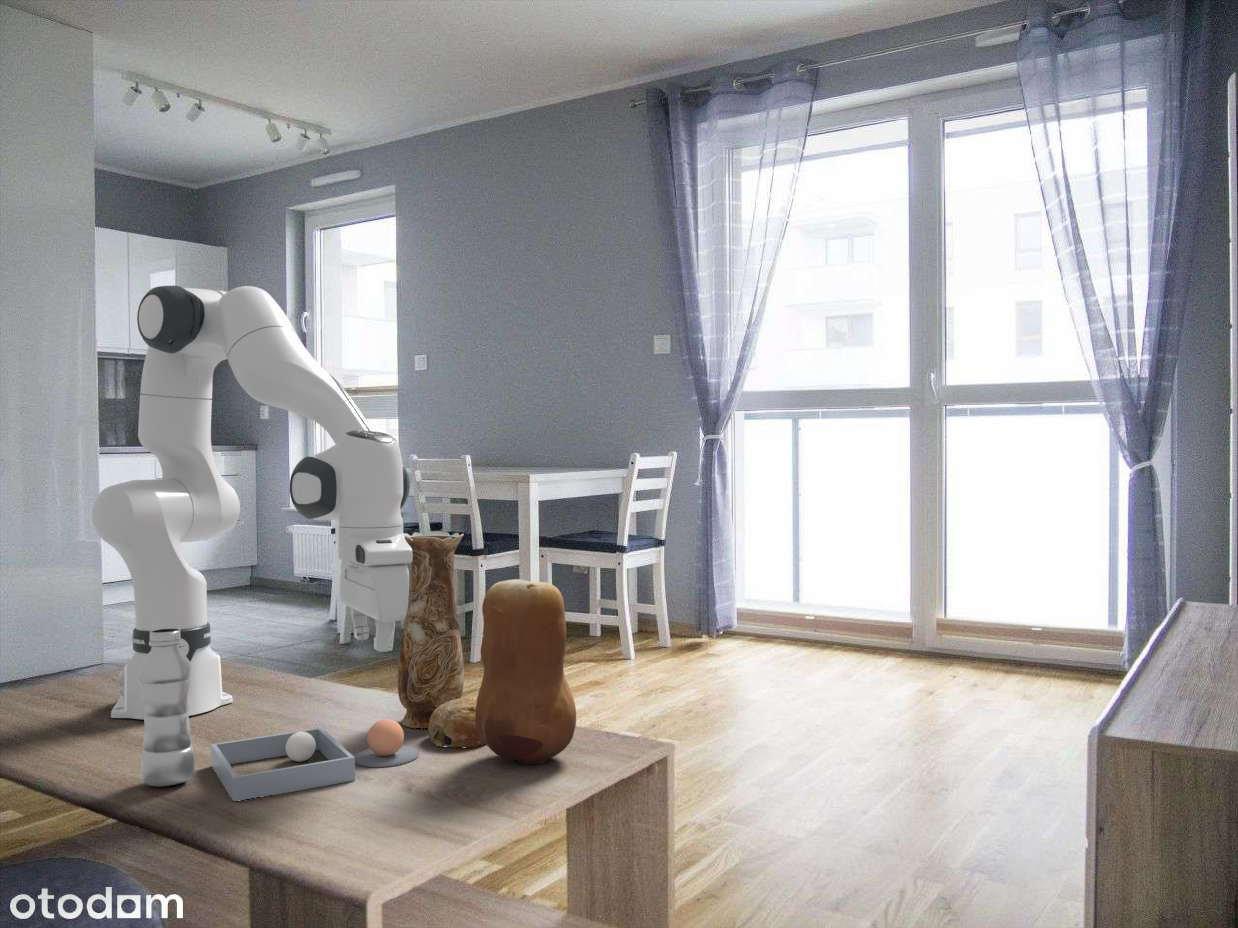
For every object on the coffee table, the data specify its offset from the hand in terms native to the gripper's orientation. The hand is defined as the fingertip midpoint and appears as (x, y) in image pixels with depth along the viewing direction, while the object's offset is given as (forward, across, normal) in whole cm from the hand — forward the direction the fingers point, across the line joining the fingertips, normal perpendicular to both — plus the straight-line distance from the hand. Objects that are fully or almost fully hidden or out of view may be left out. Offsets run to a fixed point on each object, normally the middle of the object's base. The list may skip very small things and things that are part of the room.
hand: (371, 644), depth 139 cm
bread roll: (+16, -1, +14) cm, 21 cm away
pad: (+16, +2, +2) cm, 16 cm away
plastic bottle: (+16, -3, -26) cm, 31 cm away
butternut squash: (+16, +14, +18) cm, 27 cm away
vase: (+16, -12, +14) cm, 24 cm away
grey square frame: (+16, 0, -12) cm, 20 cm away
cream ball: (+16, -4, -9) cm, 19 cm away
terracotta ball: (+15, +2, +2) cm, 16 cm away
